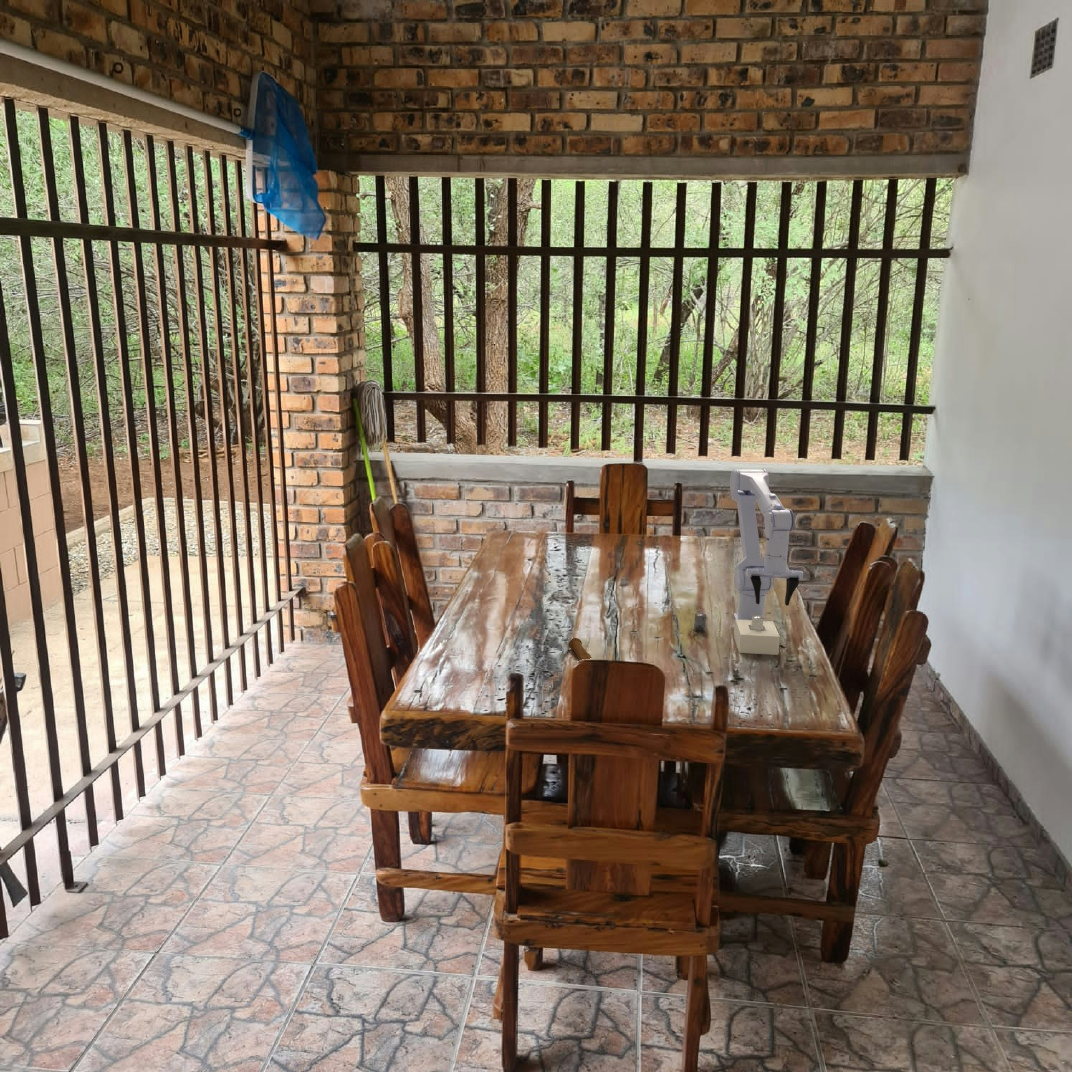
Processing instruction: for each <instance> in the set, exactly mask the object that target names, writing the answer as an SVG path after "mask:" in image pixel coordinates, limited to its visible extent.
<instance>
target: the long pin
mask: <svg viewBox="0 0 1072 1072" xmlns="http://www.w3.org/2000/svg"><path fill="white" fill-rule="evenodd" d="M763 621H765V617H762V616H759V615H754V616H752V624H751V630H757V631H763Z"/></svg>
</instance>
